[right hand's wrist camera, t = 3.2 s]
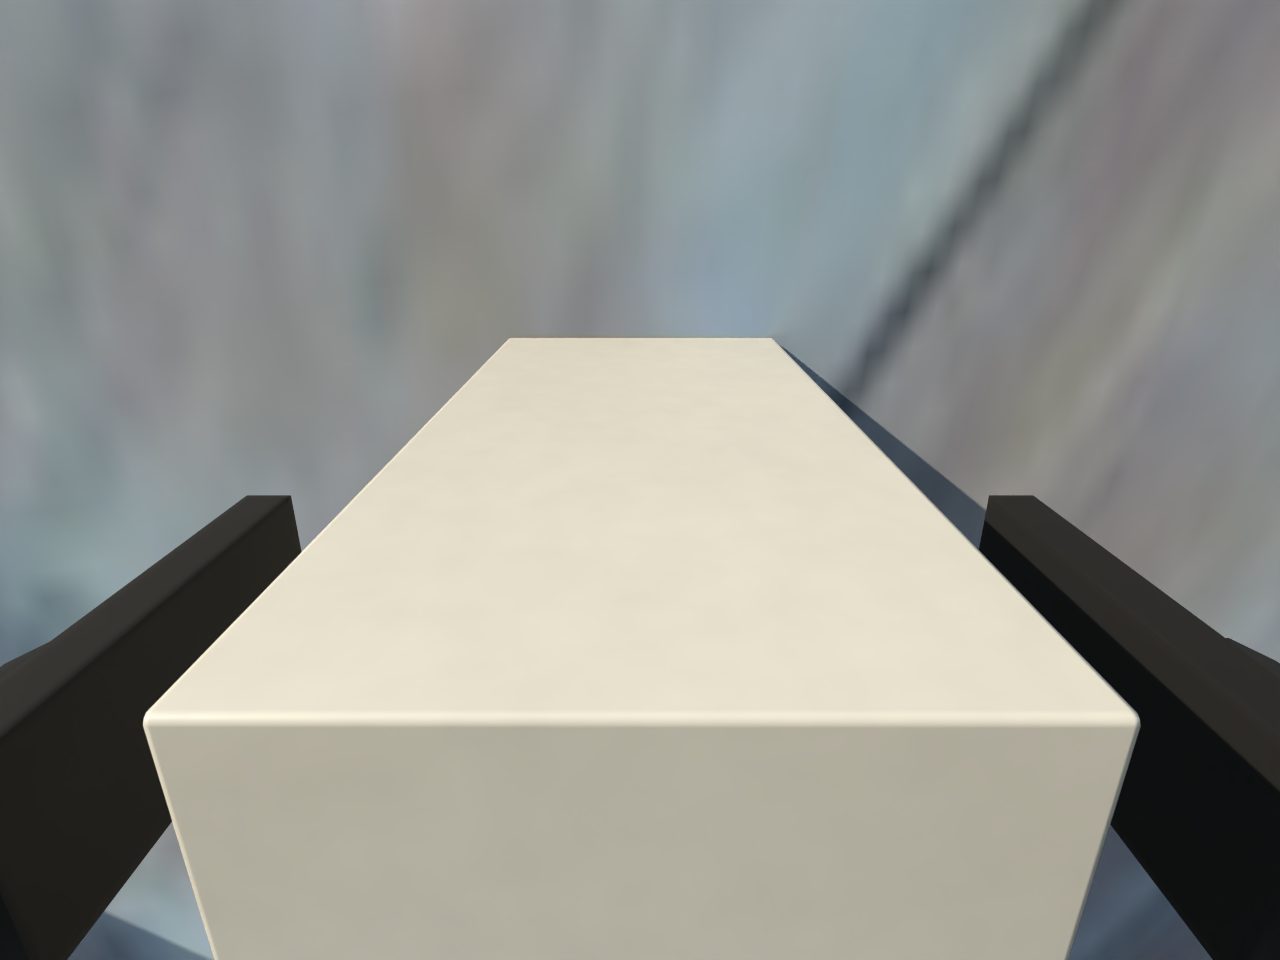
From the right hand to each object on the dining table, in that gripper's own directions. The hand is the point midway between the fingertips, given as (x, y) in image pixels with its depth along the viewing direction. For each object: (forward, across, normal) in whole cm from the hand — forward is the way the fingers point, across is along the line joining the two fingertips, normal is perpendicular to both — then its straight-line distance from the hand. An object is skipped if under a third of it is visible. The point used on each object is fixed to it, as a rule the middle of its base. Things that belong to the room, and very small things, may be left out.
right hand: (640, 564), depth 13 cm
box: (+5, 0, -10) cm, 11 cm away
